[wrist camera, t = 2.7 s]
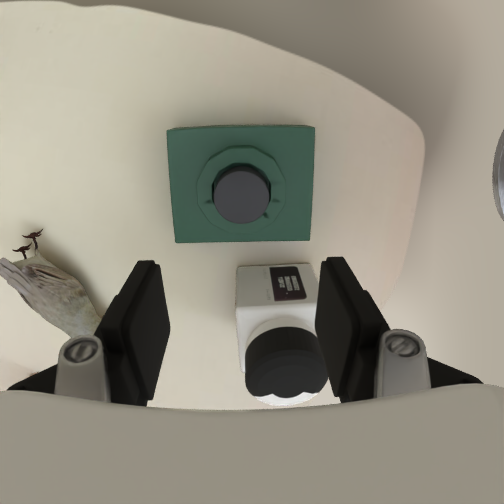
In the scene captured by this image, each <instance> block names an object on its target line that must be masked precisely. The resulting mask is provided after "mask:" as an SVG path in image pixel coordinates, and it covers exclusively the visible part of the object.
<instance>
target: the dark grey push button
mask: <svg viewBox="0 0 504 504" xmlns="http://www.w3.org/2000/svg"><path fill="white" fill-rule="evenodd" d="M268 203H269V192H268V188H267V185H266V182H265V180H264V178H263V177H262V175H261V174H260V173H259V172H257V171H256V170H254V169H252V168H250V167H246V166H237V167H233V168H231V169H229V170H227V171H226V172H224V173H223V174H222V175H221V177H220V178H219V180H218V182H217V185H216V188H215V191H214V204H215V207H216V209H217V211H218V212H219V214H220V215H221V216H222V217H223V218H225V219H226V220H228V221H230V222H233V223H237V224H246V223H250V222H253V221H255V220H257V219H258V218H259V217H260V216H262V214H263V213H264V212H265V210H266V208H267V206H268Z"/></svg>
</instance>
